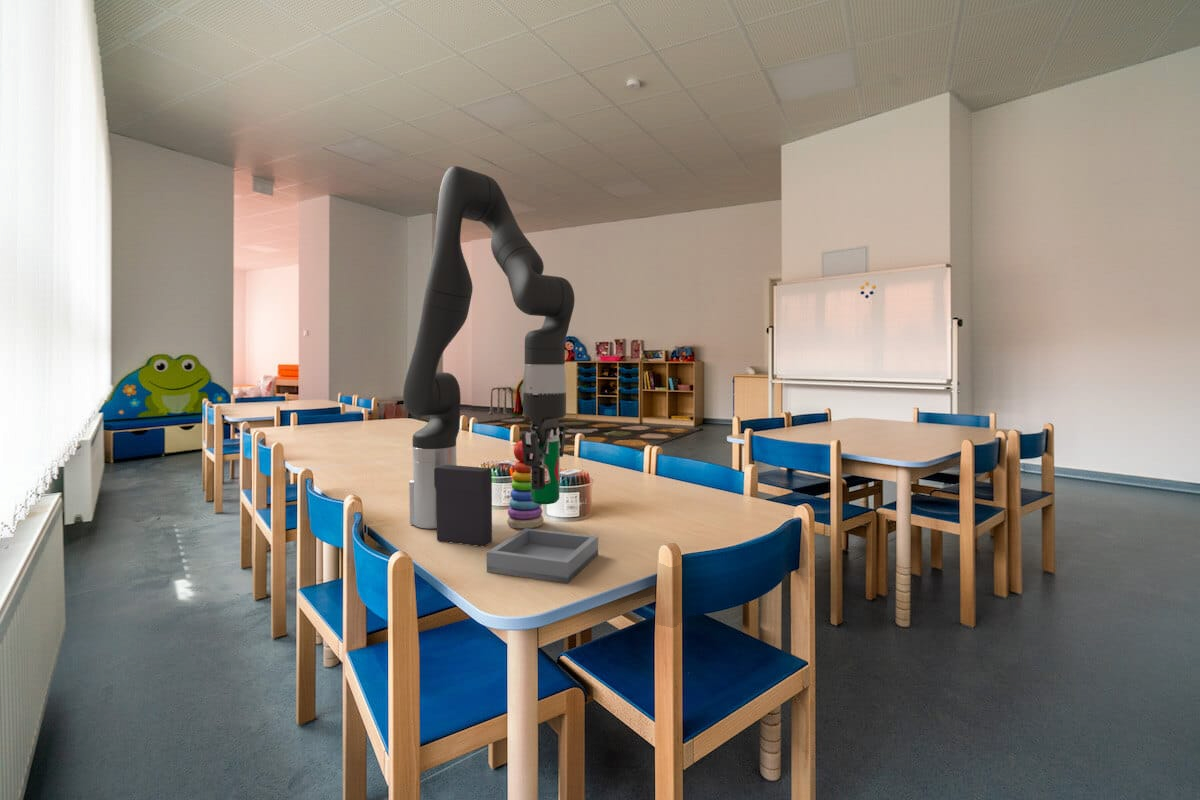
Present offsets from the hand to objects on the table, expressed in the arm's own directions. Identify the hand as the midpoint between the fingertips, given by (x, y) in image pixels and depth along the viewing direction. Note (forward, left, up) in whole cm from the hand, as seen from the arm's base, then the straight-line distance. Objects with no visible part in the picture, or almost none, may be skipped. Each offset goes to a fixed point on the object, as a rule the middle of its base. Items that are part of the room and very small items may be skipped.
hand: (544, 485), depth 105 cm
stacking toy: (-14, +20, -14) cm, 29 cm away
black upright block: (-20, +5, -14) cm, 25 cm away
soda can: (0, 0, -3) cm, 3 cm away
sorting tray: (0, 0, -14) cm, 14 cm away
